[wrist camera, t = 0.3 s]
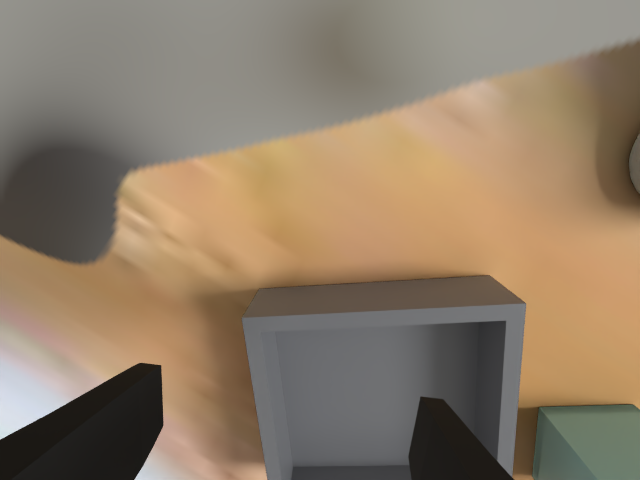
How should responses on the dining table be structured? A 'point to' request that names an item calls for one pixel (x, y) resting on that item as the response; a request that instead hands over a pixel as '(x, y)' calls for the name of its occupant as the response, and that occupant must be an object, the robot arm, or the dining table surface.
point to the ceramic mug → (635, 164)
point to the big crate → (380, 371)
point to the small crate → (587, 443)
